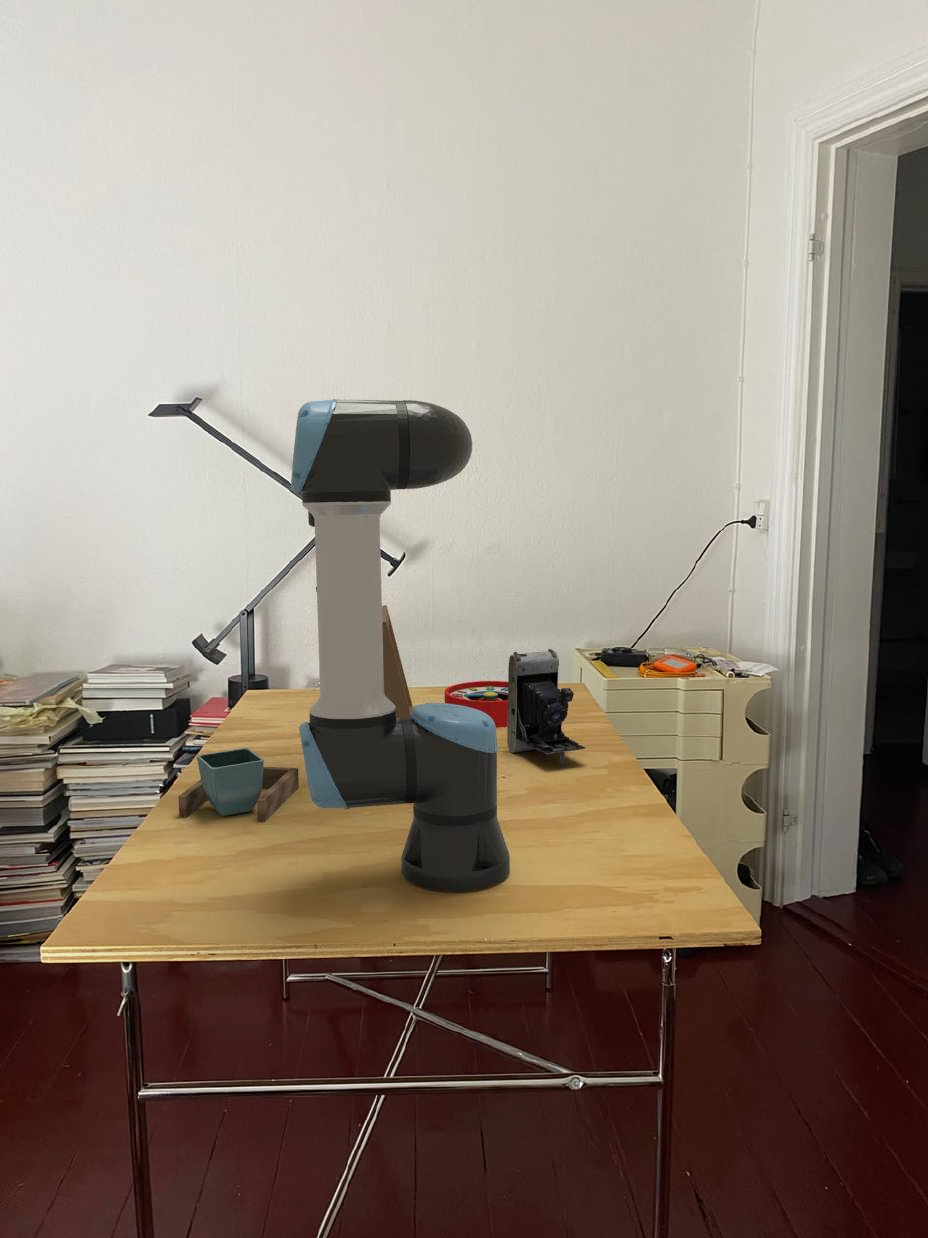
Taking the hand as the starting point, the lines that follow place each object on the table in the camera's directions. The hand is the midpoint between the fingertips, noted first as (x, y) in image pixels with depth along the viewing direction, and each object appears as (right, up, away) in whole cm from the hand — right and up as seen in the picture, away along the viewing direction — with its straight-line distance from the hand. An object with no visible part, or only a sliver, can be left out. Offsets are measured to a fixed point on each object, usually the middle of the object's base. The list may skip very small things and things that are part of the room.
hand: (332, 622), depth 192 cm
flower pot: (-14, -31, -18) cm, 38 cm away
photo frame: (+6, -23, +29) cm, 38 cm away
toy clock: (+29, -21, +41) cm, 55 cm away
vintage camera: (+40, -26, +10) cm, 48 cm away
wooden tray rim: (-14, -30, -14) cm, 36 cm away
